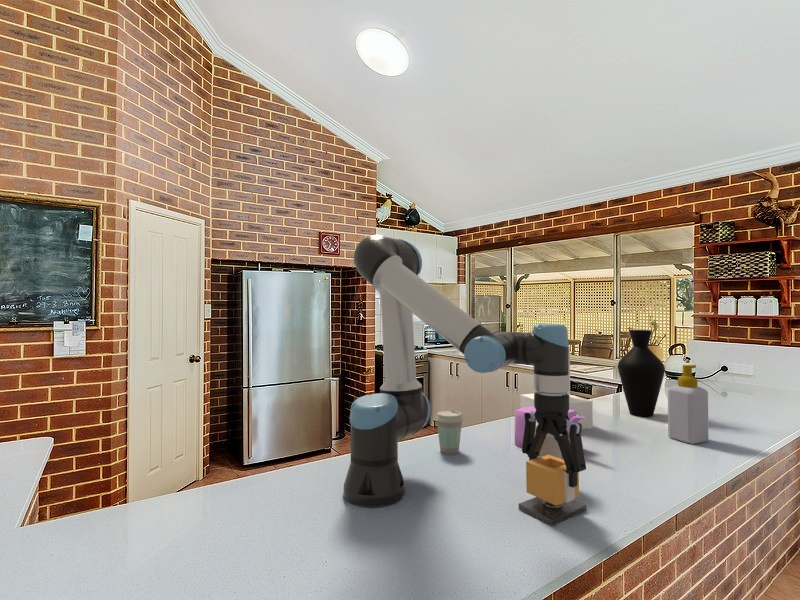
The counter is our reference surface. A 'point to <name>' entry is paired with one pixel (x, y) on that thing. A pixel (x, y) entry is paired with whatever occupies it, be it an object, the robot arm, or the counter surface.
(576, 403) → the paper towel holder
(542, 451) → the coffee cup
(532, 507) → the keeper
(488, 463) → the counter surface
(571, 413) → the teapot
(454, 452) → the coffee cup
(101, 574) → the counter surface
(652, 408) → the vase
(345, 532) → the counter surface
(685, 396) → the soap bottle
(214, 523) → the counter surface
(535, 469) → the hollow block
